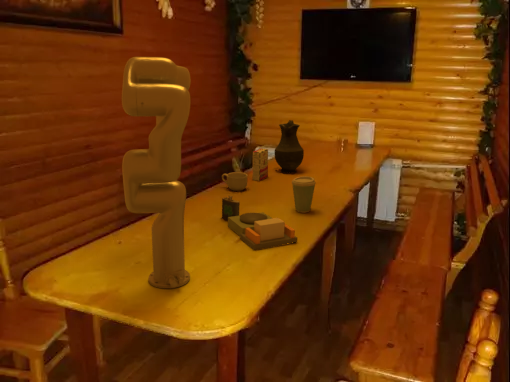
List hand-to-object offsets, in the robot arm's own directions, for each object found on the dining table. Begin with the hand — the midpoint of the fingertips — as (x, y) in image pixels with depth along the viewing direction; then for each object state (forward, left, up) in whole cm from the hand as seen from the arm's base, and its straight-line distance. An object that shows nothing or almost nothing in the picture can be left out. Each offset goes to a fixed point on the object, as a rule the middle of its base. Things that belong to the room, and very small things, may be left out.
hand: (166, 152), depth 171 cm
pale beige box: (-20, -33, -30) cm, 49 cm away
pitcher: (+75, -97, -32) cm, 127 cm away
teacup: (+51, -50, -33) cm, 79 cm away
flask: (+8, -29, -33) cm, 44 cm away
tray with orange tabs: (-12, -33, -32) cm, 48 cm away
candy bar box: (+65, -72, -33) cm, 102 cm away
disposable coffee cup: (+7, -64, -32) cm, 72 cm away
